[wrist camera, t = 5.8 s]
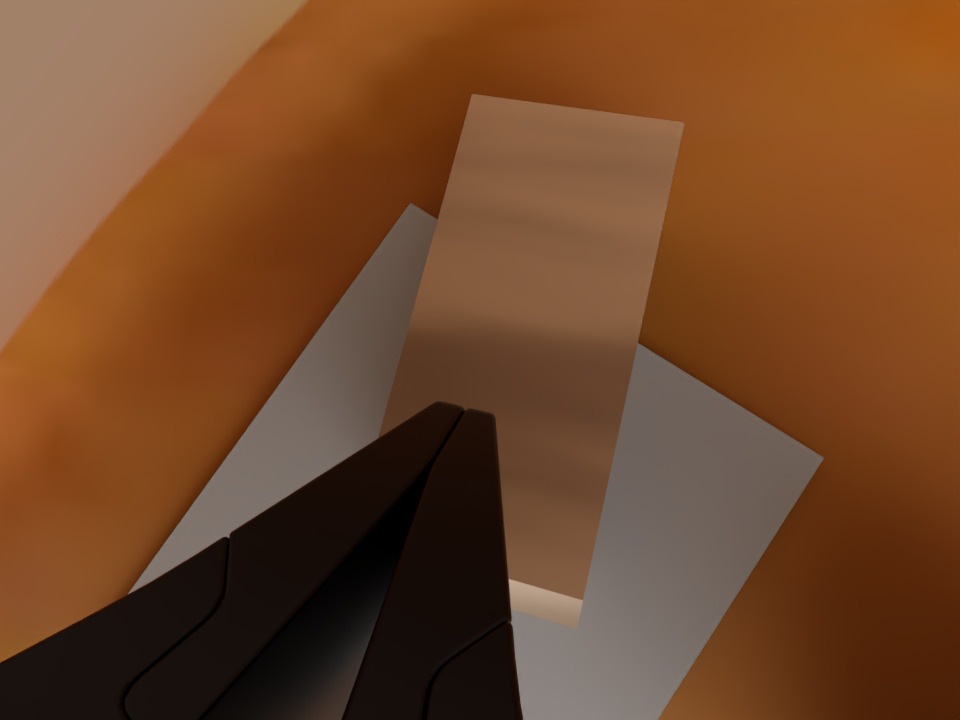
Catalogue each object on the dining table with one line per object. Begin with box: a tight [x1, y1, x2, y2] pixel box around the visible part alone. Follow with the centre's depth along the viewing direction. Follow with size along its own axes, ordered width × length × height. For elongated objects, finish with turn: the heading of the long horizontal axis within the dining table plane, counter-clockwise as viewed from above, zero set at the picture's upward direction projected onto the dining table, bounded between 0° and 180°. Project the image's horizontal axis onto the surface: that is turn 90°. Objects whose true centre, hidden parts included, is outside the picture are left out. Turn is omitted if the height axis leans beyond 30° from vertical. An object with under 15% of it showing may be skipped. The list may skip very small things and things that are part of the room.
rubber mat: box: [128, 203, 824, 720], centre depth 16 cm, size 22×13×1 cm, turn 145°
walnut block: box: [378, 94, 684, 629], centre depth 14 cm, size 4×4×10 cm
